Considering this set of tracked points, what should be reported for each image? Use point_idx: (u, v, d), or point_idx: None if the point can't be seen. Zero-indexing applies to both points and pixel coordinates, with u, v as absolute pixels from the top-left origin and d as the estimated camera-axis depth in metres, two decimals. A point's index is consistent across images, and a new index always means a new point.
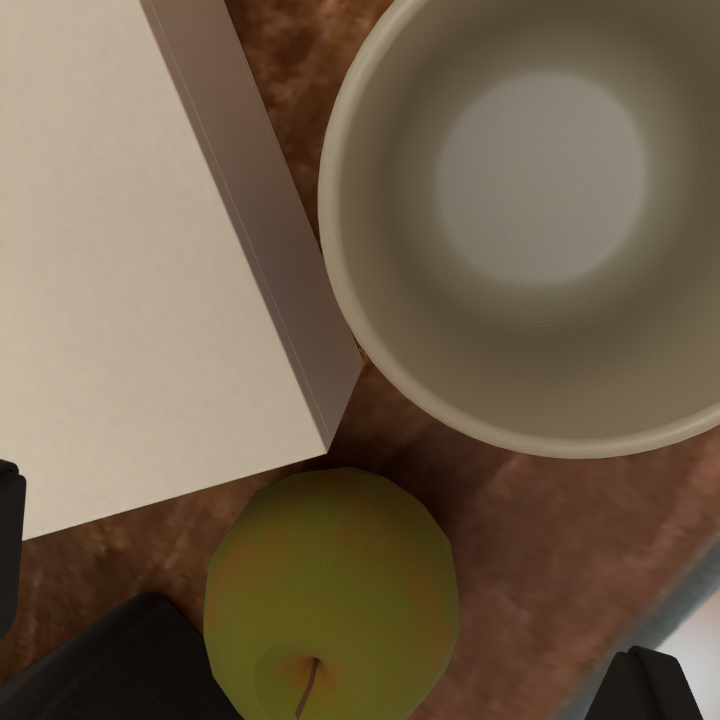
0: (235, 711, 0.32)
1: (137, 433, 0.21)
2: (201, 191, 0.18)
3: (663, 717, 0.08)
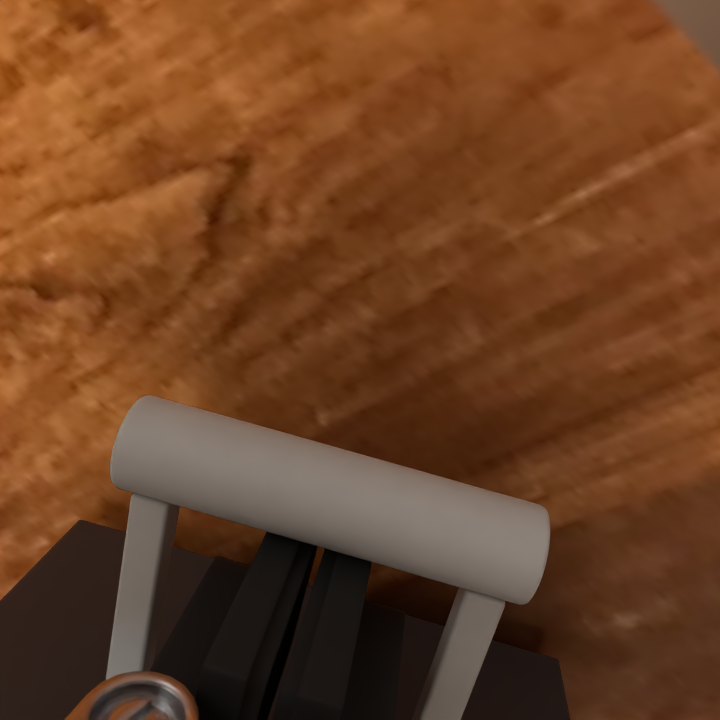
0: None
1: None
2: None
3: (337, 557, 0.10)
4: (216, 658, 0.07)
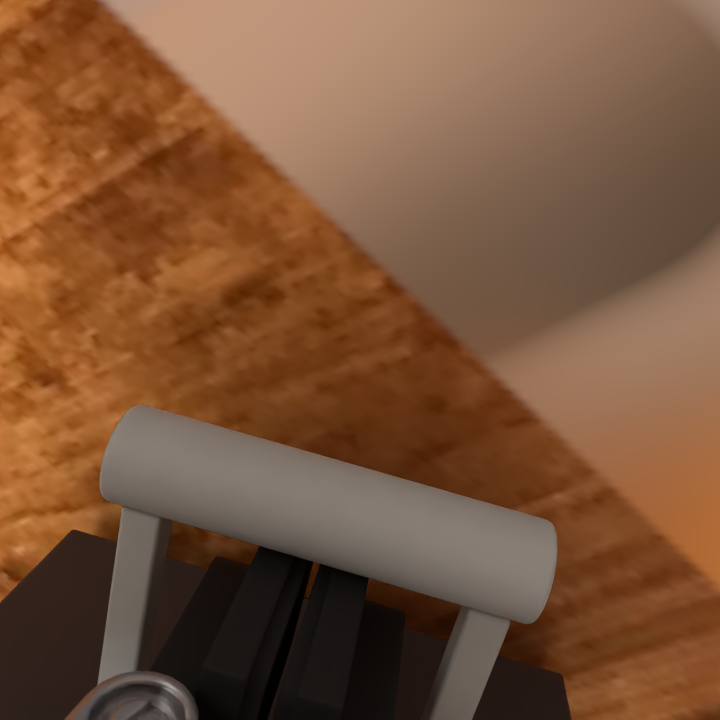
0: None
1: None
2: None
3: None
4: (216, 658, 0.07)
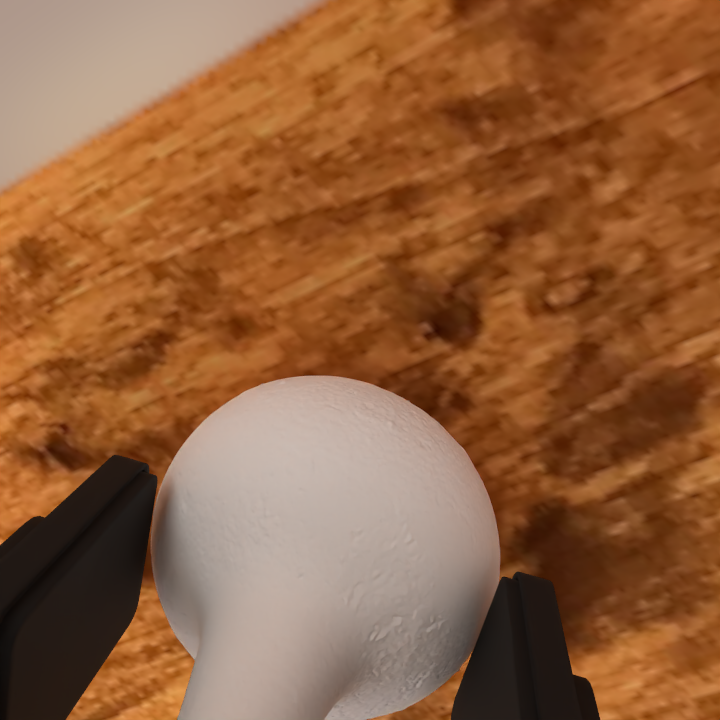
0: None
1: None
2: None
3: (526, 626, 0.09)
4: None
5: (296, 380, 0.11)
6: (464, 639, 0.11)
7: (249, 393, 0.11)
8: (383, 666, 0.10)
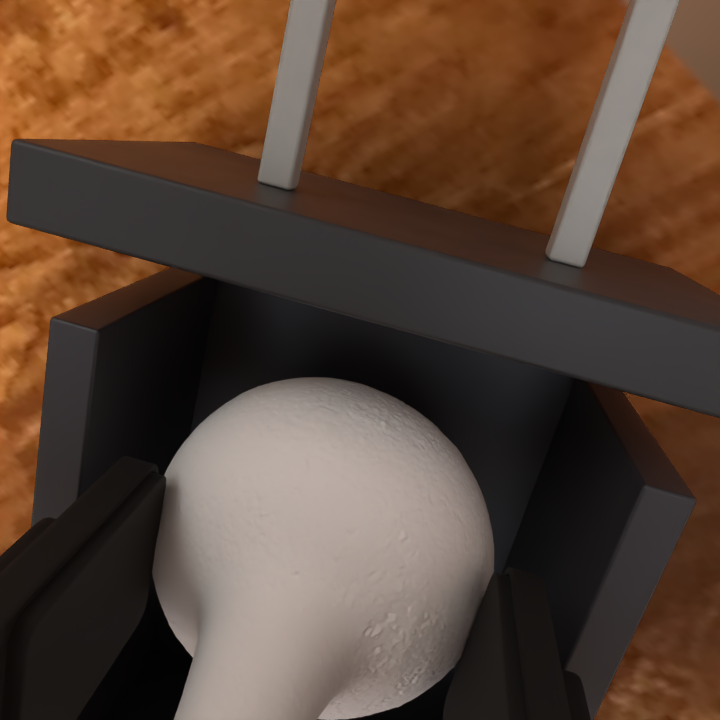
0: None
1: None
2: None
3: (516, 621, 0.09)
4: None
5: (291, 382, 0.12)
6: (459, 635, 0.11)
7: (245, 395, 0.12)
8: (379, 661, 0.10)
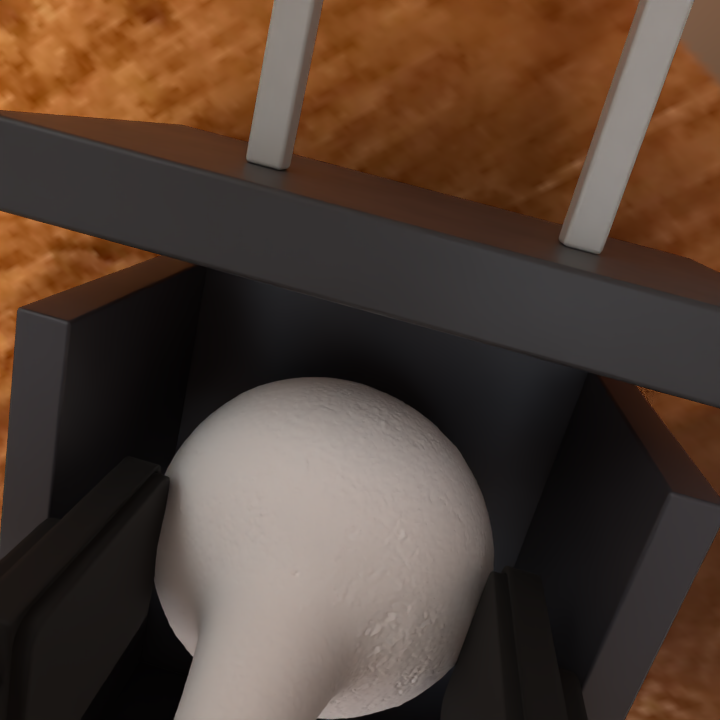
0: None
1: None
2: None
3: (513, 619, 0.09)
4: None
5: (291, 382, 0.12)
6: (458, 634, 0.11)
7: (245, 395, 0.12)
8: (379, 661, 0.10)
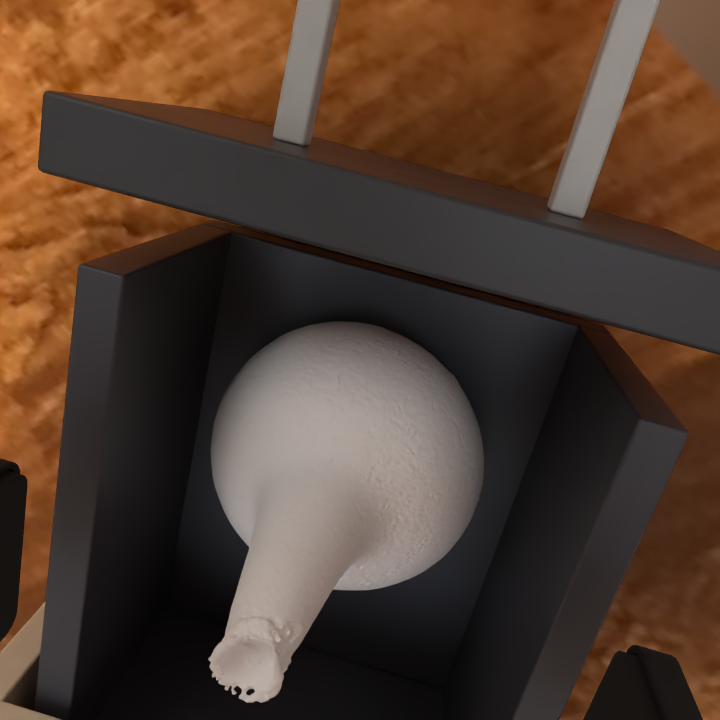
0: None
1: None
2: None
3: (662, 716, 0.08)
4: None
5: (322, 324, 0.15)
6: (456, 515, 0.14)
7: (286, 335, 0.15)
8: (394, 531, 0.13)
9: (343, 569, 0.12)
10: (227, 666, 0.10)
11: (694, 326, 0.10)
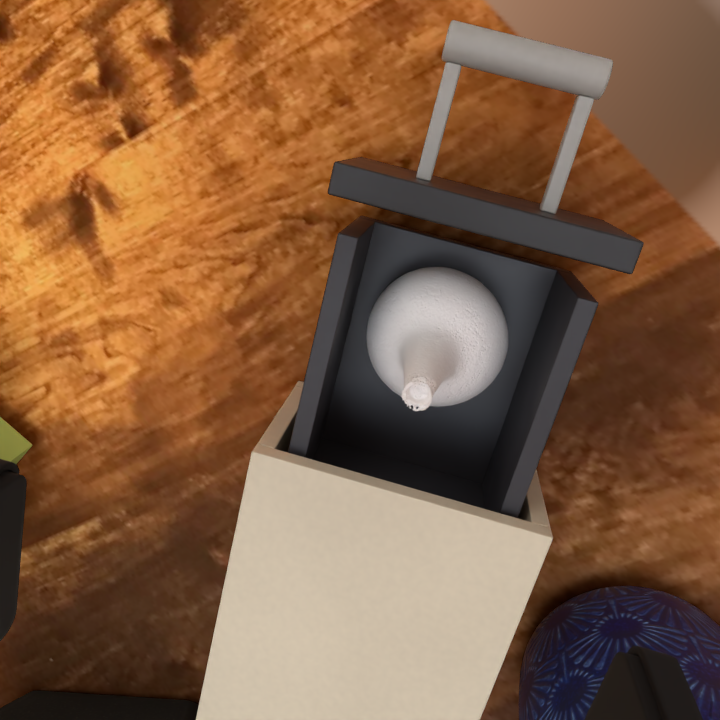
0: None
1: None
2: (488, 672, 0.29)
3: (663, 717, 0.08)
4: None
5: (426, 267, 0.29)
6: (495, 360, 0.28)
7: (408, 273, 0.29)
8: (466, 364, 0.28)
9: (447, 372, 0.26)
10: (408, 396, 0.24)
11: (597, 256, 0.24)
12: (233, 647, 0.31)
